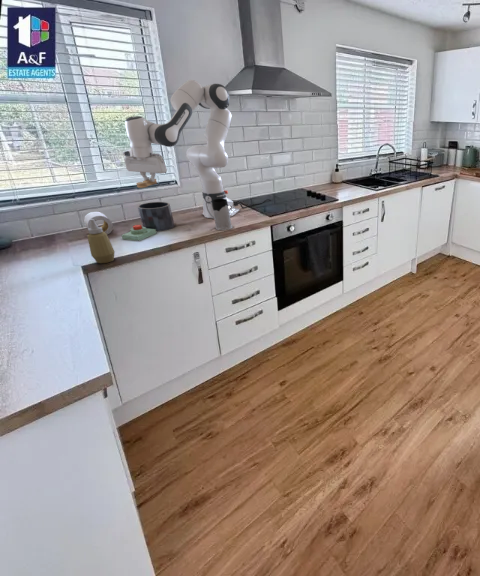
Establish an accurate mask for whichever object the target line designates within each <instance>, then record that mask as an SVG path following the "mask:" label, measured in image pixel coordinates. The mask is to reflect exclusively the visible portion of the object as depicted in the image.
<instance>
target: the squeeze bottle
mask: <svg viewBox="0 0 480 576" xmlns="http://www.w3.org/2000/svg"><path fill="white" fill-rule="evenodd" d="M90 224H91V228H89V229H88V228H87V231H88V233H87V235H86V237H87V241H88V246H89V251H90V255H91V257H92V258H93V259H94V261H95V262H96V263H97V264H107V263H111V262H113V261H114V260H115V252H116V251H115V249H114V247H113V244H112V243H111V240H110V238H109V236H108V235H107V234H106V233H105V232H103V230H102V227H101V226H98V224H97V221H94V219H91V220H90Z"/></svg>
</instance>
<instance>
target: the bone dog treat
mask: <svg viewBox="0 0 480 576" xmlns="http://www.w3.org/2000/svg"><path fill="white" fill-rule="evenodd" d="M154 179H155V181H154V182H151V181H150V179H149V180H145V181H144V180H142V181H138V182H136V183H135V184H136V187H137V188H139V189H144V188H148V187H149V186H154V185H157V184H158V182H157V178H154Z"/></svg>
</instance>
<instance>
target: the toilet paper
mask: <svg viewBox="0 0 480 576" xmlns="http://www.w3.org/2000/svg"><path fill="white" fill-rule="evenodd" d="M91 219H94V221H95V222H97V221H103V224H102V225H101V226H100V227H102V230H103V232H105V233H106V234H107V236H108V235H109V234H110V233H112V232H113V229H114V225H113V221H112V220H111V219H110V218H108V217H107V215H106V214H105V213H103V212H99V211H90V212H88V213H87V214H85V216H84V218H83V224H84V226H85V227H86V228H87V230H88V229H89V228H91V224H90V220H91Z"/></svg>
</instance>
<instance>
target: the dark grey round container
mask: <svg viewBox="0 0 480 576" xmlns="http://www.w3.org/2000/svg"><path fill="white" fill-rule="evenodd" d="M137 211H138V214H139V218H140V221H141V226H142V227H146V228H148V229H156V232H164V231H168V230H171V229H173V228H175V227H176V226H175V221H174V216H173V212H172V207H171V203H169V202H167V201H151V202H144V203H141V204H139V205H137Z"/></svg>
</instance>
